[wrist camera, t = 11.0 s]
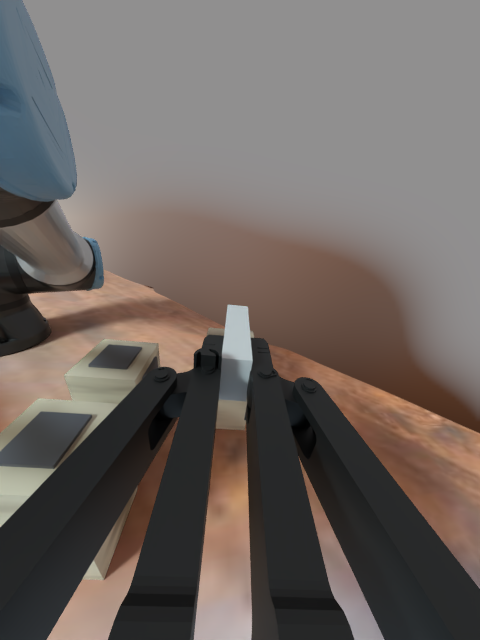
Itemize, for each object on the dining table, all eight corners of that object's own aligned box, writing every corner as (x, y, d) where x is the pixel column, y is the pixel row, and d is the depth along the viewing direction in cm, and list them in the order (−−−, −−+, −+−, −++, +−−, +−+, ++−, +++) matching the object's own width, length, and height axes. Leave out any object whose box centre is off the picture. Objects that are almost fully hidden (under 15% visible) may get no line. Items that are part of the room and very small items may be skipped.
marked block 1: (120, 412, 34) (104, 335, 28) (166, 415, 34) (161, 340, 28) (92, 459, 27) (63, 373, 21) (149, 462, 28) (137, 378, 21)
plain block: (206, 393, 39) (208, 327, 33) (243, 396, 40) (253, 331, 33) (199, 427, 33) (201, 353, 27) (244, 430, 33) (256, 358, 27)
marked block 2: (78, 482, 25) (40, 393, 19) (141, 485, 25) (124, 399, 19) (21, 577, 18) (-67, 489, 12) (107, 580, 19) (64, 494, 12)
